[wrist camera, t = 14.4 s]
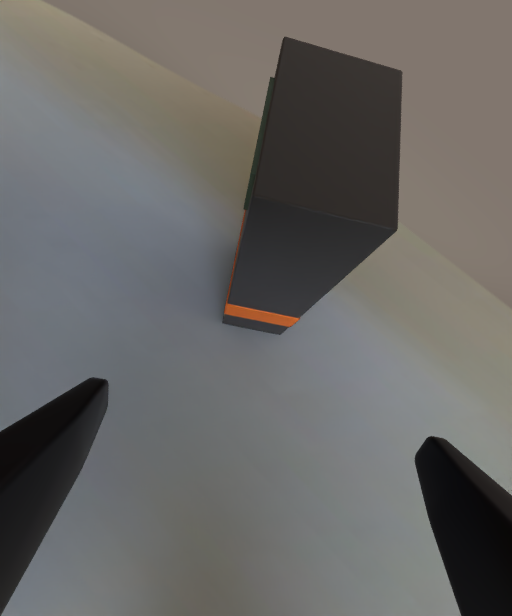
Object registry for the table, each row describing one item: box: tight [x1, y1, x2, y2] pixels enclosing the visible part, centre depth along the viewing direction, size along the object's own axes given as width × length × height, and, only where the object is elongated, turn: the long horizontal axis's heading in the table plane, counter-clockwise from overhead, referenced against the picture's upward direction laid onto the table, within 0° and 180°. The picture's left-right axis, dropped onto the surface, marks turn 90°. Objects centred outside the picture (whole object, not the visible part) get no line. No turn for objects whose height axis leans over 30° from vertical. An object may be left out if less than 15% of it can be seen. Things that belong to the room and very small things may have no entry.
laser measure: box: [223, 37, 402, 335], centre depth 14 cm, size 4×6×12 cm
